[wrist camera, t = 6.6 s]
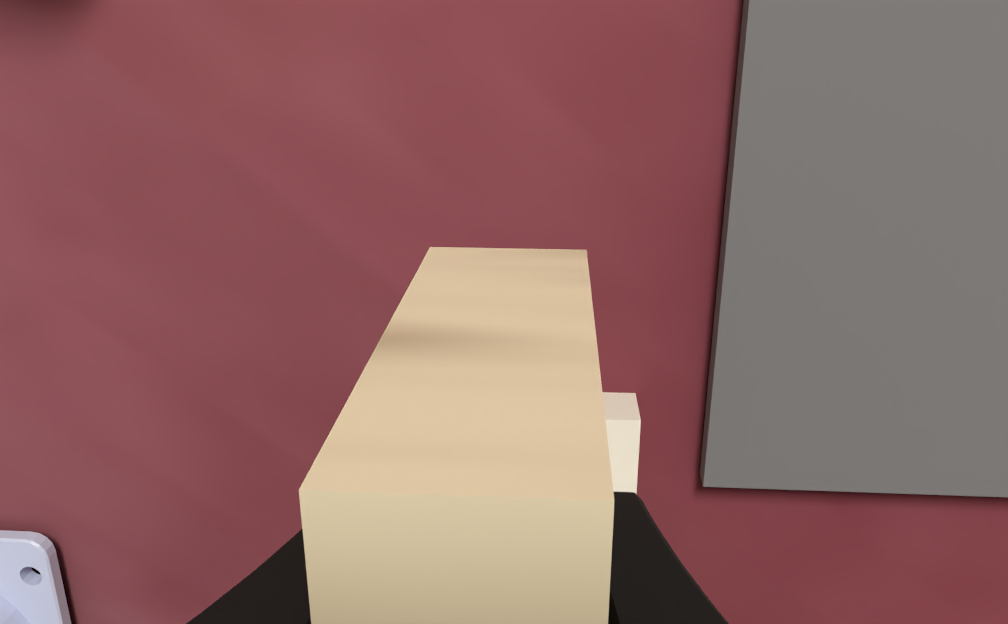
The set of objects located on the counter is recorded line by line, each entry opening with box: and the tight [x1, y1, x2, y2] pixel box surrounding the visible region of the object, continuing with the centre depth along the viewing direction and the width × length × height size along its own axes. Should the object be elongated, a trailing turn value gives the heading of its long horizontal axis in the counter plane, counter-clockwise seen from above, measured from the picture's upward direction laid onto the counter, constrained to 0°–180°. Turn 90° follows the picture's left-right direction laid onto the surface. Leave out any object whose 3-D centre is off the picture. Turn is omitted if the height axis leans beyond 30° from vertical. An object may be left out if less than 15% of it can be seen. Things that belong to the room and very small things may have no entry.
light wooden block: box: [299, 247, 614, 624], centre depth 11 cm, size 6×2×7 cm, turn 0°
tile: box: [602, 392, 641, 494], centre depth 19 cm, size 2×5×7 cm
